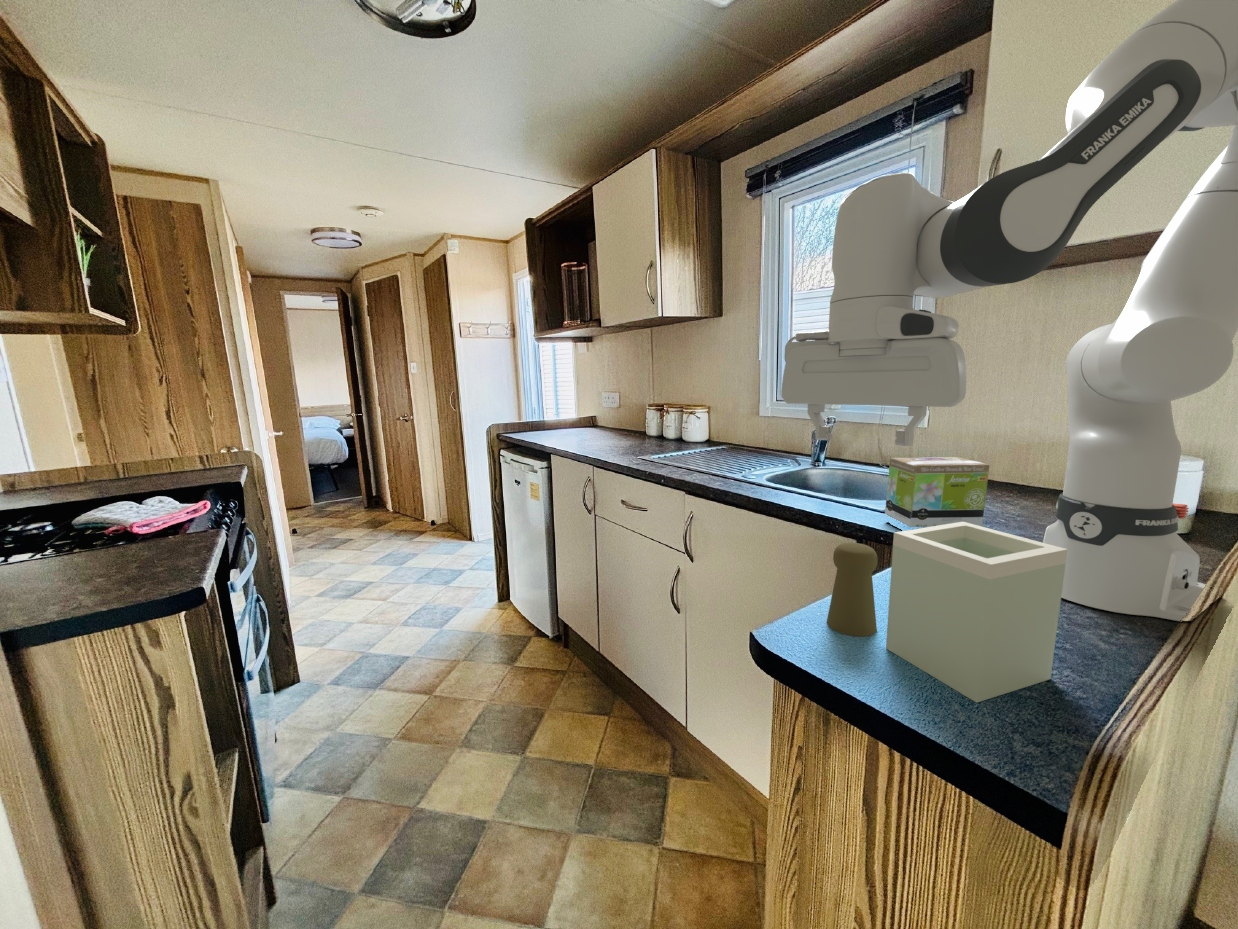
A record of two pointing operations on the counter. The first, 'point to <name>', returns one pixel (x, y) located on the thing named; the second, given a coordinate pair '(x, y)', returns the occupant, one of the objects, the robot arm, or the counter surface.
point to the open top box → (975, 607)
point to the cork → (853, 591)
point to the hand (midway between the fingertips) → (861, 442)
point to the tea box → (936, 491)
